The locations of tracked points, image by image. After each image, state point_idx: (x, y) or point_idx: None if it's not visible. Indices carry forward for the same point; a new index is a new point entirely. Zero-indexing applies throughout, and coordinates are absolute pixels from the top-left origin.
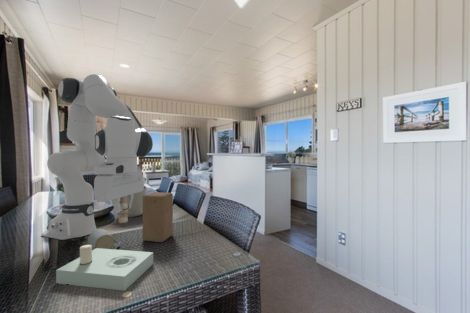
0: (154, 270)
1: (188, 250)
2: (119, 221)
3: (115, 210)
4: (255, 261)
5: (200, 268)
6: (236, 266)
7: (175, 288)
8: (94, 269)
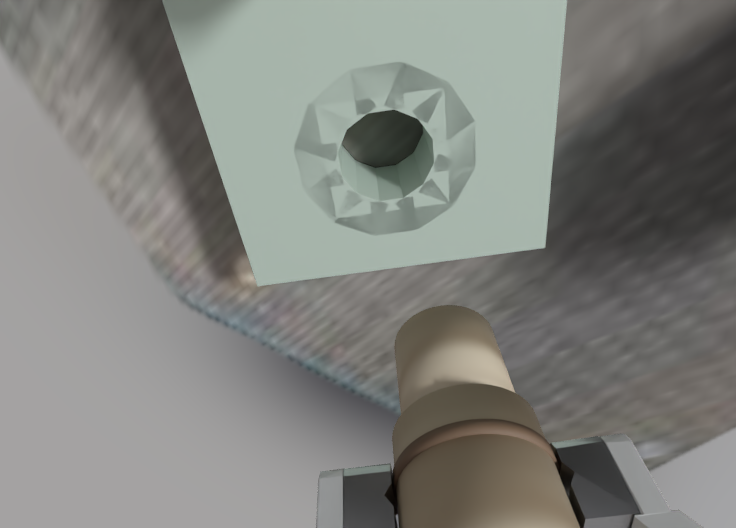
0: None
1: (700, 287)
2: (395, 353)
3: (323, 504)
4: None
5: None
6: None
7: (352, 383)
8: (237, 75)
